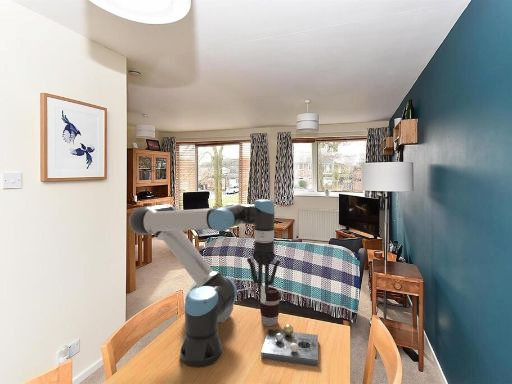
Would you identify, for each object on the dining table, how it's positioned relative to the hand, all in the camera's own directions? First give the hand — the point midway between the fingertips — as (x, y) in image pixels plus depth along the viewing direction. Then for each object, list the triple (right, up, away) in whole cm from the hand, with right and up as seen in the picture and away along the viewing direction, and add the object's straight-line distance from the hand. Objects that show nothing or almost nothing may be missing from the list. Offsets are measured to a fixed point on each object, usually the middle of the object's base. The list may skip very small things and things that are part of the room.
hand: (263, 301), depth 113 cm
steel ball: (+6, -14, 0) cm, 15 cm away
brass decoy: (+10, -13, +4) cm, 17 cm away
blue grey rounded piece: (-24, -16, +23) cm, 36 cm away
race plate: (+10, -18, -1) cm, 21 cm away
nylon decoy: (+11, -14, -6) cm, 19 cm away
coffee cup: (+3, -17, +19) cm, 25 cm away
